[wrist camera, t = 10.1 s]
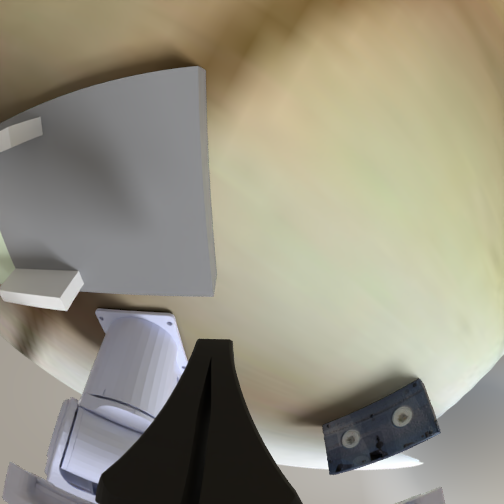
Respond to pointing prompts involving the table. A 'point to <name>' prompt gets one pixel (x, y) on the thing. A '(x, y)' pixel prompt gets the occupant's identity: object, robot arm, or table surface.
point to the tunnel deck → (108, 193)
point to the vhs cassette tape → (380, 429)
